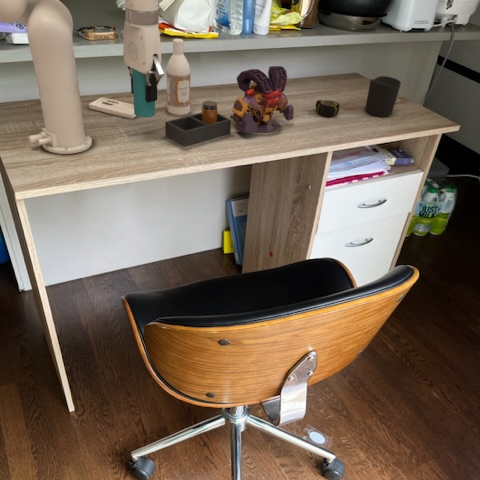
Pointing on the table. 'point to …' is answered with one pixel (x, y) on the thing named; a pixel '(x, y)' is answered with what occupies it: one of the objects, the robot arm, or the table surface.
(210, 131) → the cup holder
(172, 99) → the bath foam
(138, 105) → the water bottle
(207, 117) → the spice jar
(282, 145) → the table surface
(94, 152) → the table surface
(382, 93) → the pen holder
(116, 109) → the phone case
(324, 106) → the tape measure
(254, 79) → the figurine
